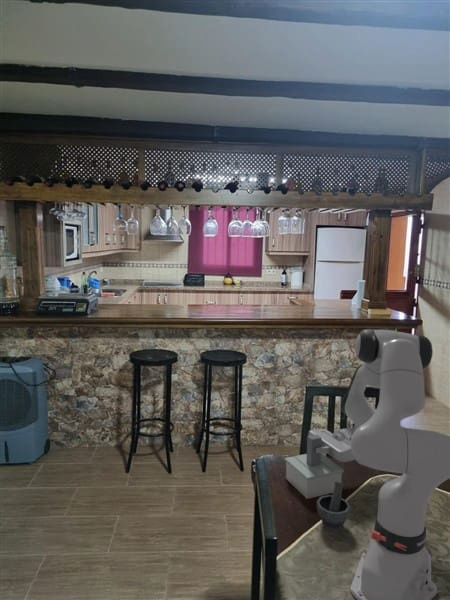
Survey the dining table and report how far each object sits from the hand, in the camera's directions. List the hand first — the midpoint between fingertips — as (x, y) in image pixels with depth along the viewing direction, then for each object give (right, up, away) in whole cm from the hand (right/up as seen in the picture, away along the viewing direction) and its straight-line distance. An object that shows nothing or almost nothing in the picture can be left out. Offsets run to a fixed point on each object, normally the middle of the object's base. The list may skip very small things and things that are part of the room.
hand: (311, 447), depth 150 cm
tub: (+1, -14, +2) cm, 14 cm away
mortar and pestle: (+2, -16, -21) cm, 27 cm away
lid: (+1, -8, +1) cm, 9 cm away
